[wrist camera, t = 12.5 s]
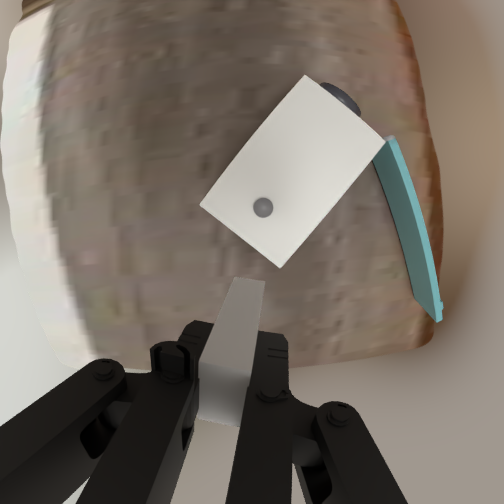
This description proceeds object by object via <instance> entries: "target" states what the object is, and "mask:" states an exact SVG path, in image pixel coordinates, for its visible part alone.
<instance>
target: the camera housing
mask: <svg viewBox="0 0 504 504" xmlns="http://www.w3.org/2000/svg"><path fill="white" fill-rule="evenodd" d="M360 116H361V111H360V109H359V107H358V106H357V104H356V103H355V102H354V101H353V100H352V98H350V97H349V96H348V95H347V94H346V93H345V92H343V91H342V90H341V89H339V88H337V87H336V86H334V85H331V84H329V83H321V84H320V85H318V84H317V83H316V82H314V81H313V80H311V79H310V78H309V77H307V76H306V75H304V76H303V77H302V78H301V80H300V81H299V82H298V83H297V84H296V85H295V86H294V87H293V88H292V90H291V91H290V92H289V93H288V94H287V95H286V96H285V98H284V99H283V100H282V101H281V102H280V103H279V104H278V106H277V107H276V108H275V109H274V110H273V111H272V113H271V114H270V115H269V116H268V117H267V119H266V120H265V121H264V122H263V123H262V125H261V126H260V127H259V128H258V129H257V131H256V132H255V133H254V134H253V136H252V137H251V138H250V139H249V140H248V142H247V143H246V144H245V145H244V147H243V148H242V149H241V150H240V152H239V153H238V154H237V156H236V157H235V158H234V159H233V161H232V162H231V163H230V164H229V166H228V167H227V168H226V170H225V171H224V172H223V174H222V175H221V176H220V178H219V179H218V180H217V182H216V183H215V184H214V186H213V187H212V188H211V190H210V191H209V192H208V194H207V195H206V196H205V198H204V199H203V200H202V202H201V203H200V206H201V207H203V208H204V209H205V210H206V211H208V212H209V213H210V214H212V215H213V216H214V217H215V218H217V219H218V220H219V221H221V222H222V223H223V224H224V225H226V226H227V227H228V228H229V229H231V230H232V231H233V232H235V233H236V234H237V235H238V236H240V237H241V238H242V239H243V240H245V241H246V242H247V243H249V244H250V245H251V246H252V247H254V248H255V249H256V250H257V251H259V252H260V253H261V254H263V255H264V256H265V257H266V258H268V259H269V260H270V261H271V262H273V263H274V264H275V265H277V266H278V267H279V268H281V267H282V266H283V265H284V264H285V262H286V261H287V260H288V259H289V258H290V257H291V256H292V254H293V253H294V252H295V251H296V250H297V249H298V247H299V246H300V245H301V244H302V243H303V242H304V241H305V239H306V238H307V237H308V236H309V235H310V233H311V232H312V231H313V230H314V229H315V228H316V226H317V225H318V224H319V223H320V222H321V221H322V219H323V218H324V217H325V216H326V215H327V213H328V212H329V211H330V210H331V209H332V207H333V206H334V205H335V204H336V203H337V201H338V200H339V199H340V198H341V197H342V195H343V194H344V193H345V192H346V191H347V189H348V188H349V187H350V186H351V185H352V183H353V182H354V181H355V180H356V178H357V177H358V176H359V175H360V173H361V172H362V171H363V170H364V169H365V167H366V166H367V165H368V164H369V162H370V161H371V160H372V159H373V157H374V156H375V155H376V154H377V152H378V151H379V150H380V149H381V147H382V146H383V145H384V144H385V141H384V140H383V139H382V138H381V137H380V136H379V135H378V134H377V133H376V132H375V131H374V130H373V129H372V128H371V127H369V126H368V125H367V124H366V123H365V122H364V121H363V120H362V119H360V118H359V117H360Z"/></svg>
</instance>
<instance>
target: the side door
mask: <svg viewBox="0 0 504 504" xmlns="http://www.w3.org/2000/svg"><path fill="white" fill-rule="evenodd" d="M382 139H383V140H384V141H385V144H384V145H383V146H382V147H381V149H380V150H379V151H378V152H377V154H376V155H375V156H374V157H373V159H372V160H373V163H374V165H375V168H376V170H377V173H378V176H379V178H380V181H381V184H382V186H383V189H384V192H385V195H386V197H387V200H388V203H389V206H390V209H391V212H392V215H393V218H394V221H395V225H396V228H397V231H398V235H399V238H400V241H401V245H402V249H403V252H404V256H405V260H406V264H407V268H408V272H409V276H410V280H411V285H412V289H413V294H414V299H415V300H416V301H417V302H418V303H419V304H420V305H421V306H422V307H423V308H424V309H425V310H426V311H427V313H428V314H429V315H430V316H431V317H432V318H433V319H434V320H435V321H436V322H439V321H441V320H443V319H442V309H443V302H442V301H441V300H440V296H439V289H438V283H437V277H436V272H435V267H434V262H433V257H432V252H431V248H430V243H429V239H428V235H427V231H426V227H425V223H424V220H423V216H422V213H421V209H420V206H419V202H418V199H417V196H416V193H415V190H414V187H413V184H412V181H411V178H410V175H409V172H408V169H407V166H406V164H405V161H404V158H403V156H402V153H401V151H400V148H399V146H398V143H397V141H396V138H395V137H394V136H393V135H389V136H386V137H383V138H382Z"/></svg>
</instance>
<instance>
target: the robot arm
mask: <svg viewBox="0 0 504 504" xmlns="http://www.w3.org/2000/svg"><path fill="white" fill-rule="evenodd" d="M264 287H265V281H259V280H253V279H247V278H240V277H234V279H233V281H232V284H231V286H230V288H229V291H228V293H227V295H226V298H225V300H224V302H223V305H222V307H221V310H220V312H219V314H218V317H217V319H216V321H215V324H212V323H207V322H202V321H197V320H194V321H193V322H191V323H189V324H188V325H186V327H185V328H184V330H183V332H182V335H180V337H179V339H178V341H177V342H176V341H165V342H160V343H158V344H155V345H154V346H153V347H152V348H150V357H151V368H152V371H151V372H149V373H126V372H125V370H124V368H123V366H122V365H121V364H120V363H119V362H117V361H115V360H112V359H104V358H103V359H97V360H94V361H92V362H90V363H89V364H87V365H86V366H84V367H83V368H82V369H80V370H79V371H77V372H76V373H74V374H73V375H72V376H70V377H69V378H68V379H66V380H65V381H63V382H62V383H61V384H59V385H58V386H56V387H55V388H53V389H52V390H51V391H49V392H48V393H46V394H45V395H44V396H42V397H41V398H39V399H38V400H37V401H35V402H34V403H32V404H31V405H30V406H28V407H27V408H25V409H24V410H23V411H21V412H20V413H18V414H17V415H16V416H14V417H13V418H12V419H10V420H9V421H7V422H6V423H5V424H3V425H2V426H0V504H62V503H63V502H64V501H66V500H67V499H68V498H69V497H70V496H71V495H72V494H73V493H74V492H75V491H76V490H77V489H78V488H79V487H80V486H81V485H82V484H83V483H84V482H85V481H86V480H87V479H88V478H89V477H90V478H89V480H88V482H87V484H86V485H85V487H84V489H83V491H82V493H81V495H80V497H79V498H78V500H77V502H76V504H170V502H171V499H172V496H173V493H174V490H175V487H176V484H177V481H178V478H179V475H180V472H181V469H182V466H183V463H184V460H185V457H186V454H187V450H188V448H189V444H190V442H191V438H192V435H193V432H194V421H195V418H196V415H197V412H198V419H201V420H206V421H210V422H215V423H220V424H225V425H231V426H237V427H240V430H239V435H238V440H237V445H236V451H235V456H234V461H233V467H232V472H231V477H230V482H229V487H228V493H227V497H226V502H225V504H291V493H292V463H293V464H294V465H295V469H296V472H297V475H298V479H299V482H300V485H301V489H302V492H303V495H304V498H305V502H306V504H408V503H407V501H406V499H405V497H404V495H403V494H402V492H401V490H400V488H399V486H398V484H397V482H396V481H395V479H394V477H393V475H392V473H391V471H390V469H389V468H388V466H387V464H386V462H385V460H384V458H383V457H382V455H381V453H380V451H379V449H378V447H377V446H376V444H375V442H374V440H373V438H372V437H371V435H370V433H369V431H368V429H367V428H366V426H365V424H364V422H363V420H362V418H361V417H360V415H359V413H358V412H357V411H356V410H355V408H353V407H352V406H350V405H348V404H346V403H343V402H338V401H331V402H327V403H324V404H323V405H321V406H320V407H319V408H316V407H313V406H310V405H307V404H305V403H302V402H300V401H299V400H298V399H296V398H295V397H294V396H293V395H292V393H291V391H290V390H289V383H288V382H289V377H288V376H289V375H288V374H289V371H288V341H287V340H286V338H285V337H284V335H283V334H277V333H271V332H264V331H258V327H259V321H260V314H261V307H262V301H263V294H264Z"/></svg>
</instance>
